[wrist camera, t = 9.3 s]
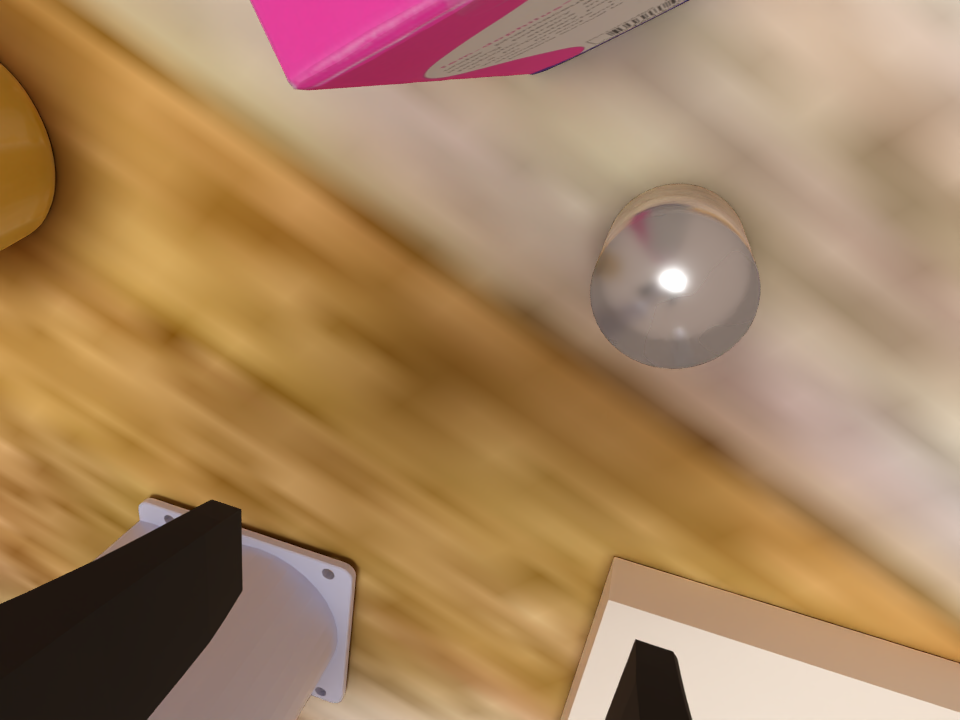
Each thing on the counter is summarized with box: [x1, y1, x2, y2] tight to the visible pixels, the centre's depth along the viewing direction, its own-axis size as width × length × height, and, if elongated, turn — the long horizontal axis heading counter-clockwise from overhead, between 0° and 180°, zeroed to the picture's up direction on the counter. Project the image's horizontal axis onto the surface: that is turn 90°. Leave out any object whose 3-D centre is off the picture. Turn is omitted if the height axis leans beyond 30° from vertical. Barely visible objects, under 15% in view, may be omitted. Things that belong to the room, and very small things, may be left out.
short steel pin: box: [590, 184, 760, 369], centre depth 16 cm, size 4×4×4 cm
